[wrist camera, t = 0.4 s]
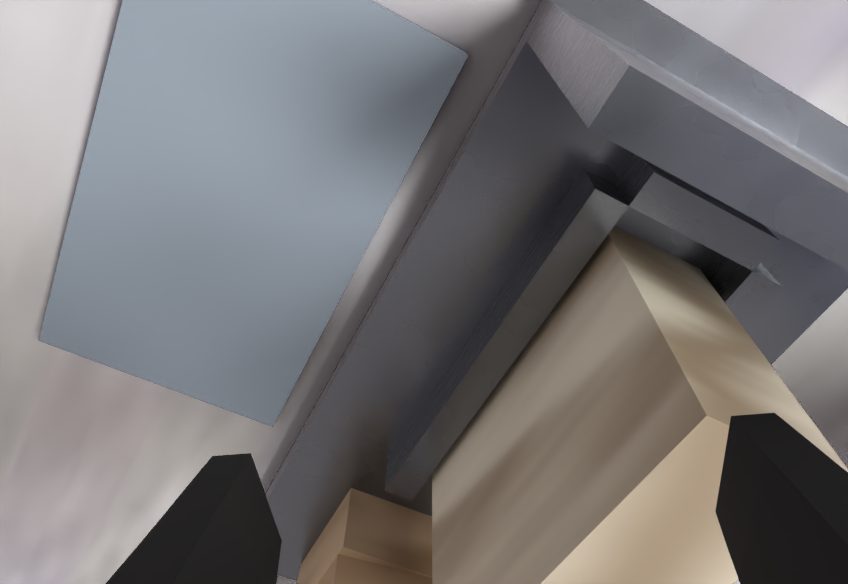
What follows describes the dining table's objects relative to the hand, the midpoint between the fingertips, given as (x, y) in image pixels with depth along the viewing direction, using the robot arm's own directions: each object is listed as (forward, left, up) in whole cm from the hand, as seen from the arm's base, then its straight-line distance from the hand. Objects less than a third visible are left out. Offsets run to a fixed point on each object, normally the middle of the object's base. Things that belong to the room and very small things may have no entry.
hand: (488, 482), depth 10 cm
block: (-5, +3, -9) cm, 11 cm away
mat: (+6, +3, -10) cm, 12 cm away
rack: (-5, +5, -10) cm, 12 cm away
